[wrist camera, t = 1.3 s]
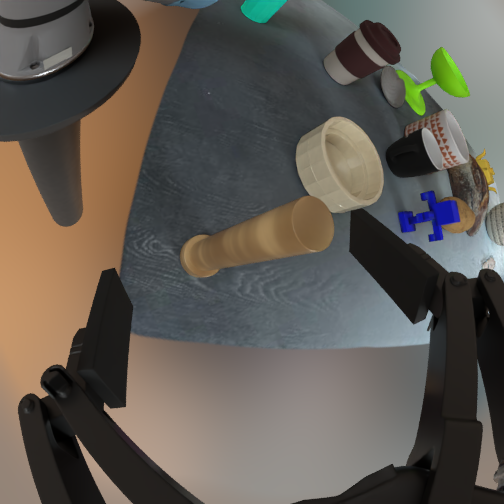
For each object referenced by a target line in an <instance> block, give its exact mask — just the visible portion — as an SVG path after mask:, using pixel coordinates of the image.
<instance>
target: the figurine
mask: <svg viewBox="0 0 504 504" xmlns="http://www.w3.org/2000/svg"><path fill="white" fill-rule="evenodd" d="M420 195H421V200H422V201H425V200H428V204H429V209H430V211H428V212H423V213H419V214H416V216H414V217H413V212H412V211H403V212H399V213H398V215H399V220H400V225H401V231H402V233H403V232H411V231H416V228H415V224H416V223H421V222H426V221H430V220H432V225H433V231H434V234H430V235H428V236H429V242H431V241H437V240H443V234H442V228H441V225H447V224H452V223H457V222H461V221H460V215H459V210H458V205H457V201H455V200H448V201H444V202H440V203H437V202H436V197H435V193H434V191H429V192H425V193H421V194H420Z"/></svg>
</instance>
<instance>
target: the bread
mask: <svg viewBox="0 0 504 504" xmlns="http://www.w3.org/2000/svg"><path fill="white" fill-rule="evenodd" d="M448 173H449V178H450V183H451V188H452V193H453V197H457V198H459V199H461V200H462V201H464V202H465V203H466V204H467V205H468V206H469V207H470V209H471V210H472V211H473V212H474V214H475V222H474V224H473V226H472V227H471V228H470V229H468V230H466V231H468V233H469V234H468V233H467V234H468V235H469V236H472V237H473V236H474V235H475V234H476V233H477V232H478V230H479V228H480V227H481V225H482V223H483V221H484V218H485V215H486V212H487V209H488V203H489V188H488V183H487V179H486V176H485V174H484V172H483V170H482V169H481V168H480V166H479V165H478V163H477V162H476V160H475V159H474V158H473V157H472V156H471V155H470V154H469V161H468V162H467V163H464V164H461V165H458V166H454V167H451V168H448ZM451 176H452V178H451ZM452 180H453V181H452Z"/></svg>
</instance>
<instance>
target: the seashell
mask: <svg viewBox="0 0 504 504" xmlns="http://www.w3.org/2000/svg"><path fill="white" fill-rule="evenodd" d="M381 87H382V91H383V93H384V95H385V98H386V99H387V101H388V102H389V103H390V105H391V106H393V107H396V108H398V107H400V106H402V105H403V103H404V100H405V96H406V89H405V83H404V80H403V79H401V78H399V76H398V74H397V72H396V70H395V69H394V68H393V67H391V66H385V67H384V68H383V70H382V72H381Z"/></svg>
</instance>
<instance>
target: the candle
mask: <svg viewBox="0 0 504 504" xmlns="http://www.w3.org/2000/svg"><path fill="white" fill-rule="evenodd" d="M286 1H287V0H246V1H245V2H244V3H243V5H242V6H241V11H242V13H243V14H244V15H245V16H246V17H248V18H249V19H251V20H253V21H255V22H258V23H266V22H267V21H268V20H269V19H270V18H271V17H272V16H273V15H274V14H275V13H276V12H277V11H278V10H279V8H280V7H281V6H282V5H283V4H284V3H285V2H286Z"/></svg>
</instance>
